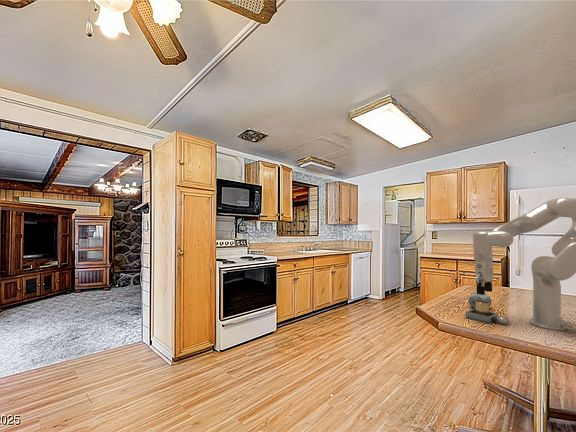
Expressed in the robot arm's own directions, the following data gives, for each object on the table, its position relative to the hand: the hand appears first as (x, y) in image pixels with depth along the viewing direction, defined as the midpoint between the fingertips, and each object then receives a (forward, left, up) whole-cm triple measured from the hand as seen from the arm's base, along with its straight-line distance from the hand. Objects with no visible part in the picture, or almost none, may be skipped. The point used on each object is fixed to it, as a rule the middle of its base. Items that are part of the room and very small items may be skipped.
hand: (484, 292), depth 141 cm
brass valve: (+1, +1, -12) cm, 12 cm away
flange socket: (-2, +1, -13) cm, 13 cm away
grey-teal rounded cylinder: (+9, -20, -13) cm, 26 cm away
